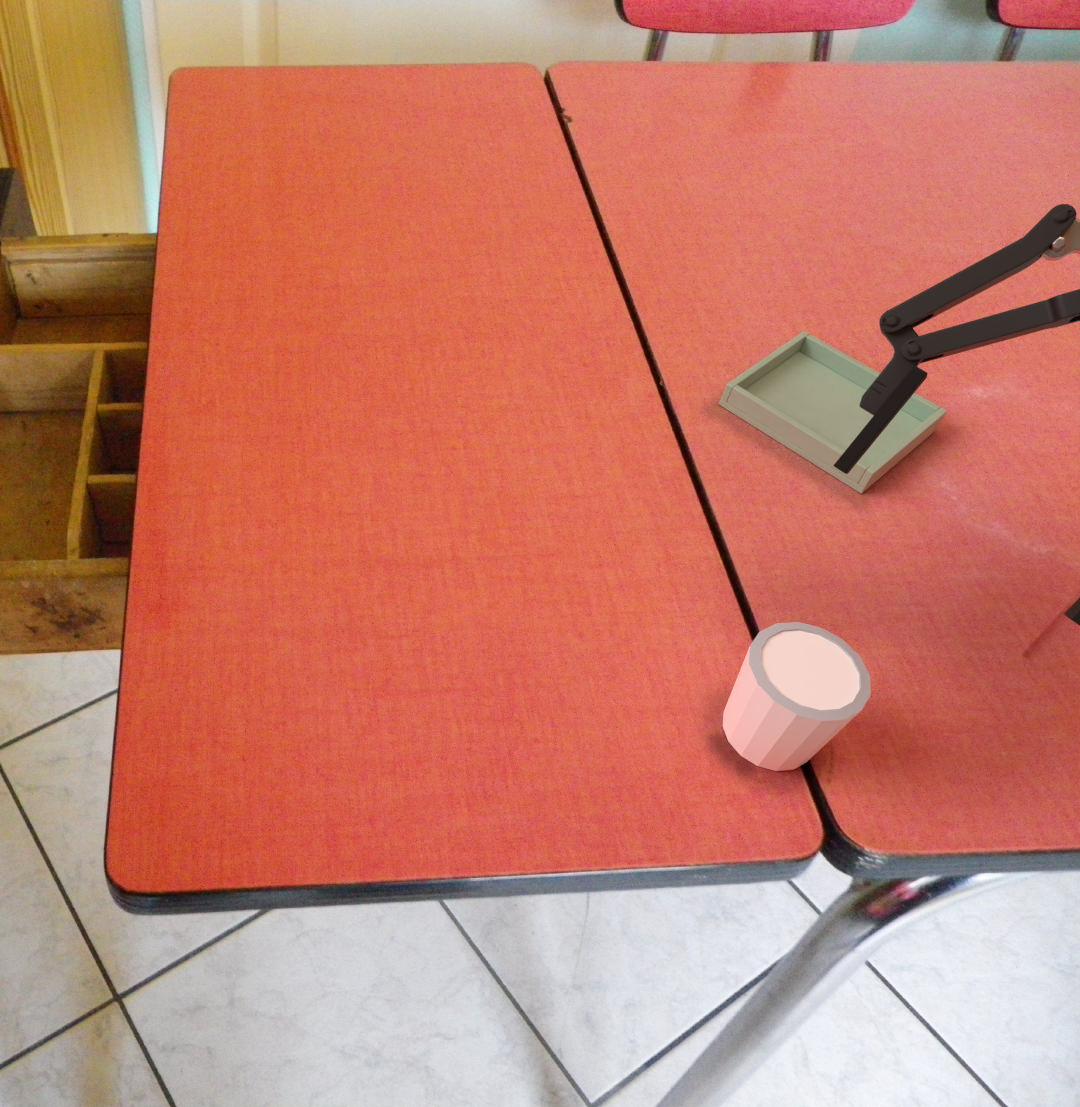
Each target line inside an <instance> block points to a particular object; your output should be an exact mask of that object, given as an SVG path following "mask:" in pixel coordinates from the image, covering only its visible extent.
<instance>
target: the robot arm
mask: <svg viewBox="0 0 1080 1107" xmlns="http://www.w3.org/2000/svg"><path fill="white" fill-rule="evenodd" d="M1072 254H1077V255H1080V219H1079V218H1078V217H1077V210H1076V208H1075V206H1073V205H1071V204H1068V203H1061V204H1058V205H1057V204H1056V205H1055V206H1054V207H1052V208H1050V210H1049V211H1047V213H1046V214H1045V215H1044V216H1043V217H1042V218H1041V219H1040V220H1038V222H1037V223H1036V224H1035V225H1034V226H1033V227H1032V228H1031V229H1030V230H1029V231H1028V232H1027V233H1026V234H1025V235H1024V236H1023V237H1021V238H1019V239H1017V240H1015V241H1013V242H1012V243H1010V244H1008V245H1006V246H1004V247H1002V248H1001V249H999V250H997V251H995V252H993V253H992V254H989V255H988V256H985V257H984V258H982V259H981V260H979V261H976V262H974V263H973V264H971V265H969V266H967V267H965V268H964V269H961V270H960V271H958V272H956V273H954V274H953V275H951V276H949V277H947V278H945V279H943V280H941V281H940V282H938V283H935V284H934V285H933V286H930V287H929V288H926V289H925V290H923V291H922V292H919V293H918V294H915V295H913V296H912V297H910V298H908V299H907V300H905V301H903V302H901V303H899V304H897V305H895V306H894V307H892V308H890V309H888V310H886V311H885V312H884V313H882V314H881V315H880V318H879V321H878V324H879V330H880V332H881V334H882V335H883V336H884V337H885V339H886V340H887V342H888V343H889V344H890V345H891V347H892V348H893V351H894V353H893V355H892V358H891V359H890V360H889V362H888V363H887V364H886V366H885V367H884V368H883V369H882V371H881V372H879V373H880V374H879V376H878V377H877V378H876V379H875V381H874V382H873V383H872V384H871V386H870V387H869V388H868V389H867V391H866V392H865V393H864V394H863V396H862V398H861V402H860V405H859V406H860V408H862V409H864V410H865V411H867V412H869V413H870V414H872V415H873V417H872V418H871V420H870V421H869V422H868V423H867V425H866V426H865V427H864V428H863V430H862V431H861V432H860V433H859V435H858V436H857V437H856V438H855V439H854V441H853V442H852V443H851V444H850V446H849V447H848V448H847V449H846V451H845V452H844V453H843V454H842V455H841V457H840V458H839V459H838V460H837V462H836V463H835V464H834V465H833V466H834V467H836V468H837V469H839V470H840V471H842V472H843V473H845V474H848V473H849V472H850V470H851V469H852V468H853V467H854V466H855V464H856V463H857V462H858V461H859V460H860V458H861V457H862V456H863V455H864V453H865V452H866V451H867V450H868V449H869V447H870V446H871V445H872V444H873V442H874V441H875V440H876V439H877V438H878V436H879V435H880V434H881V433H882V431H883V430H884V429H885V428H886V427H887V425H888V424H889V423H890V422H891V420H892V419H893V418H894V417H895V416H896V414H897V413H898V412H899V411H900V410H901V408H902V407H903V406H904V405H905V403H906V402H907V401H908V400H909V399H910V397H911V396H912V395H913V394H914V392H915V393H916V391H917V390H918V389H919V388H920V386H922V384H923V383H924V381H926V379H927V377H928V372H927V371H925V370H923V369H922V368H920V367H919V366H920V365H921V364H924V363H927V362H931V361H935V360H938V359H942V358H946V357H949V356H954V355H957V354H960V353H964V352H967V351H968V352H969V351H972V350H976V349H979V348H982V347H986V346H990V345H993V344H998V343H1002V342H1004V341H1008V340H1012V339H1014V338H1019V337H1022V336H1026V335H1030V334H1034V333H1037V332H1042V331H1045V330H1049V329H1055V328H1056V329H1057V328H1059V327H1063V326H1066V325H1070V324H1075V323H1078V322H1080V288H1079V289H1075V290H1071V291H1069V292H1063V293H1061V294H1058V295H1055V296H1052V297H1050V298H1047V299H1044V300H1041V301H1037V302H1034V303H1031V304H1027V305H1023V306H1019V307H1016V308H1013V309H1009V310H1005V311H1002V312H999V313H995V314H991V315H988V316H985V317H984V316H983V317H981V318H977V319H974V320H970V321H967V322H963V323H960V324H956V325H952V326H949V327H946V328H942V329H939V330H935V331H932V332H928V333H925V334H921V335H919V334H918V332H916V330H915V329H914V328H916V327H918V326H920V325H922V324H924V323H926V322H928V321H930V320H932V319H933V318H936V317H937V316H939V315H941V314H942V313H943V314H944V312H947V311H949V310H950V309H952V308H954V307H956V306H958V305H960V304H961V303H964V302H965V301H967V300H969V299H971V298H973V297H975V296H976V295H977V296H978V295H979V294H981V293H983V292H984V291H986V290H988V289H990V288H992V287H994V286H996V285H998V284H999V283H1001V282H1004V281H1006V280H1007V279H1009V278H1011V277H1013V276H1015V275H1017V274H1020V273H1021V272H1022V271H1024V270H1025V269H1027V268H1029V267H1031V266H1032V265H1034V264H1035V263H1036V262H1038V261H1039V260H1040V259H1041V258H1043V259H1045V260H1047V261H1051V262H1056V261H1059V260H1060V261H1061V259H1064V258H1065V257H1066V256H1068V255H1072ZM1063 615H1064V616H1066V617H1067V618H1068V619H1069V620H1070V621H1072V622H1073V623H1075V624H1077V625H1078V626H1080V596H1079V598H1077V599H1076V600H1075V601H1074V602H1073V603H1072V604H1071V606H1069V607H1068V608H1067V610H1066V611H1065V612H1063Z"/></svg>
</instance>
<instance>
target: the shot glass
mask: <svg viewBox="0 0 1080 1107" xmlns="http://www.w3.org/2000/svg"><path fill="white" fill-rule="evenodd" d="M871 687H872V685H871V673H869V670H868V668H867V667H866V664H865V663H864V661H863V659H862V656H860V654H859V653H858V652H857V651H856V650H855V649H853V647H852V646H850V645H849V644H848V643H847V642H846V641H845V640H844V639H843V638H841V637H840V636H838V635H836V634H834V633H832V632H830V631H828V630H827V629H824V628H823V627H821V626H817V625H812V624H808V623H804V622H800V621H791V622H775V623H774V624H772V625H770V626H768V627H765V628H764V629H761V630H759V632H758V633H757V634H756V636H755V637H754V639H753V640H752V642H751V643H750V645H749V647H748V649H747V652H746V655H745V657H744V660H743V662H742V664H741V666H740V670H739V672H738V675H737V677H736V680H735V682H734V685H733V686H732V690H731V692H730V695H729V697H728V699H727V702H726V704H725V708H724V710H723V712H722V729H723V732H724V734H725V736H726V739H727V742H728V744H730V745H731V747H732V748H733V749H734V751H736V753H737V754H738V755H739V756H740V757H741V758H743V759H745V760H746V761H748V762H750V763H752V765H755V766H756V767H758V768H763V769H767V770H771V771H774V772H783V771H794V770H795V769H798V768H799V767H801V766H802V765H804V764H806V763H808V761H809V760H811V759H812V758H813V757H814V756H815V755H816V754H817V753H818V752H820V750H822V749H823V747H825V745H827V744H828V743H829V742H830V741H831V740H832V739H833V738H834V737H836V735H837V734H839V732H840V731H842V730H843V729H844V728H845V727H846V726H847V725H848V724H849V723H851V721H852V720H853V719H854V718H856V716H858V715H859V714H860V713H861V712H862V711H863V709H864V708H865V706H866V704H867V702H868V701H869V699H870V697H871V695H872V688H871Z"/></svg>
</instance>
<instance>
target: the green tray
mask: <svg viewBox="0 0 1080 1107" xmlns="http://www.w3.org/2000/svg"><path fill="white" fill-rule="evenodd" d="M880 373H881V372H879V371H877V370H875V369H874V368H871V367H870V366H868V365H866V364H864V363H863V362H861V361H859V360H857V359H856V358H853V357H852V356H850V355H848V354H846V353H845V352H843V351H842V350H839V349H838V348H836V347H834V346H832V345H831V344H829V343H827V342H825V341H823V340H822V339H820V338H818V337H816V336H814V335H813V334H810V333H809V332H807V331H805V330H802V331H801V332H799V333H798V334H797V335H795V336H794V337H793V338H791V339H789V340H788V341H787V342H785V343H784V344H782V345H781V346H779V347H778V348H776V349H775V350H773V351H772V352H771V353H769V354H767V355H766V356H765V357H764V358H762V359H760V360H759V361H758V362H756V363H755V364H753V365H751V367H749V368H747V369H746V370H745V371H743V372H741V373H740V374H739V375H738V376H735V377H734V378H733V379H731V380H730V381H728V382H727V383H726V384H725V387H724V390H723V392H722V394H721V396H720V399H719V402H718V405H719V406H720V407H722V408H723V409H725V410H727V411H728V412H731V414H733V415H735V416H737V417H738V418H740V420H741V419H742V420H743V421H745V422H746V423H748V424H749V425H751V426H752V427H754V428H756V429H757V430H759V431H760V432H762V433H763V434H765V435H766V436H768V437H770V438H771V439H773V440H774V441H776V442H778V443H780V444H781V445H783V446H784V447H786V448H787V449H789V450H791V451H792V452H794V453H795V454H797V455H798V456H800V457H802V458H803V459H804V460H806V461H808V462H810V463H811V464H813V465H814V466H816V467H818V468H819V469H821V470H822V471H824V472H826V473H827V474H829V475H830V476H832V477H834V478H835V479H837V480H838V481H840V482H842V483H843V484H845V485H846V486H847V487H849V488H851V489H853V490H854V491H856V492H858V493H859V494H864V492H865V491H867V489H869V488H870V487H871V486H872V485H874V484H875V483H876V482H877V481H878V480H879V479H881V478H882V477H883V476H884V475H885V474H886V473H888V472H889V471H890V470H891V469H893V467H895V466H896V465H897V464H899V463H900V462H901V460H903V459H904V458H905V457H906V456H907V455H909V454H910V453H911V452H912V451H913V450H915V449H916V448H917V447H918V446H919V445H920V444H921V443H923V442H924V441H925V440H926V439H927V438H929V437H930V436H931V435H932V434H933V433H934V432H936V430H937V429H938V427H939V425H940V423H941V422H942V420H943V419H944V418H945V416H946V414H947V413H948V410H947V409H945V408H943V407H941V406H940V405H938V404H936V403H935V402H933V401H930V400H929V399H927V398H926V397H924V396H922V395H921V394H918V393H916V391H915V392H914V394H913V395H912V396H911V397H910V399H909V400H908V401H907V402H906V403H905V405H904V406H903V407H902V408H901V410H900V411H899V412H898V413H897V414H896V416H895V417H894V418H893V419H892V420H891V422H890V423H889V424H888V425H887V427H886V428H885V429H884V430H883V431H882V433H881V434H880V435H879V436H878V438H877V439H876V440H875V441H874V442H873V444H872V445H871V446H870V447H869V449H868V450H867V451H866V452H865V453H864V455H863V456H862V457H861V458H860V460H859V461H858V462H857V463H856V464H855V466H854V467H853V468H852V469H851V470H850V472H849V473H848V474H845V473H843V472H842V471H840V470H839V469H837V468H836V467H834V466H833V465H834V464H835V463H836V462H837V460H838V459H839V458H840V457H841V455H842V454H843V453H844V452H845V451H846V449H847V448H848V447H849V446H850V444H851V443H852V442H853V441H854V439H855V438H856V437H857V436H858V435H859V433H860V432H861V431H862V430H863V428H864V427H865V426H866V425H867V423H868V422H869V421H870V420H871V418H872V417H873V415H872V414H870V413H869V412H867V411H865V410H864V409H862V408H860V406H859V405H860V402H861V398H862V396H863V394H864V393H865V392H866V391H867V389H868V388H869V387H870V386H871V384H872V383H873V382H874V381H875V379H876V378H877V377H878V376H879V374H880Z"/></svg>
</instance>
